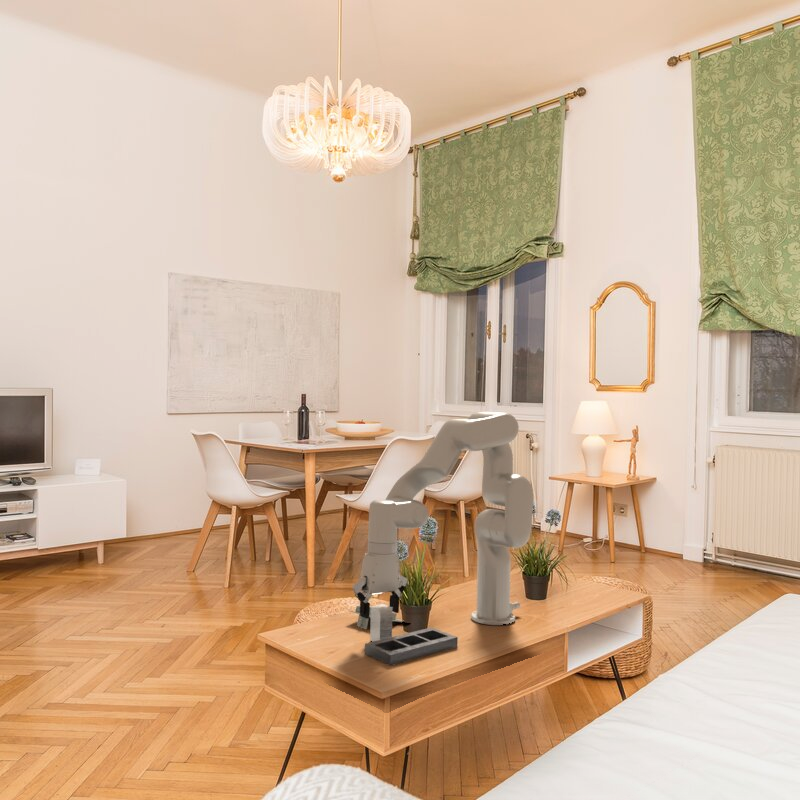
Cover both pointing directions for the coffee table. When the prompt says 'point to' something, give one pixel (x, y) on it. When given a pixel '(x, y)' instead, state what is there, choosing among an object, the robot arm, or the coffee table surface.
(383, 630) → the steel peg
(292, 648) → the coffee table surface
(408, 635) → the compartment tray
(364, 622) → the metal bracket
